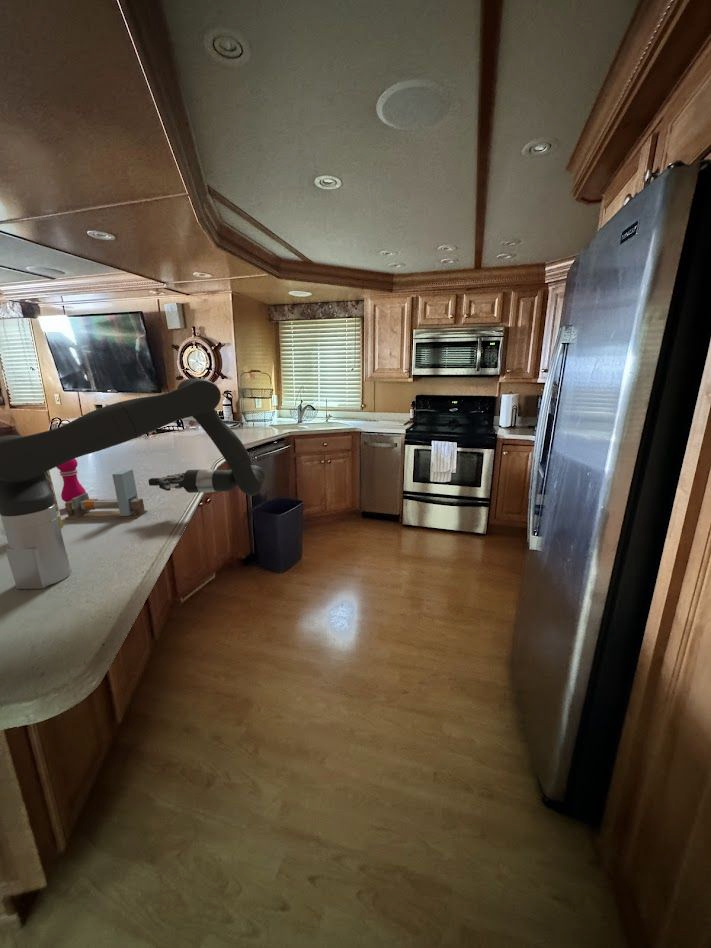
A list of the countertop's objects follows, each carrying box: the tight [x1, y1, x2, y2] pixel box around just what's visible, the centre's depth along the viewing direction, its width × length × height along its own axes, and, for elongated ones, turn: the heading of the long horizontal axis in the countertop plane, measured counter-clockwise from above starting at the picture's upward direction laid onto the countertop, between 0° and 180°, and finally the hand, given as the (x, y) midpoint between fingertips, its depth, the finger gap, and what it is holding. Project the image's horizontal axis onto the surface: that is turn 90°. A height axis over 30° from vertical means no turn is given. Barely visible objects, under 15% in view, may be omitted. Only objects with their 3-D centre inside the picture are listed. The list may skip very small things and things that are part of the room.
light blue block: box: [111, 468, 139, 516], centre depth 123 cm, size 6×3×14 cm, turn 0°
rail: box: [64, 492, 148, 520], centre depth 125 cm, size 6×24×7 cm, turn 90°
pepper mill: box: [56, 458, 87, 510], centre depth 132 cm, size 7×7×20 cm
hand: (149, 481), depth 122 cm, fingers closed
